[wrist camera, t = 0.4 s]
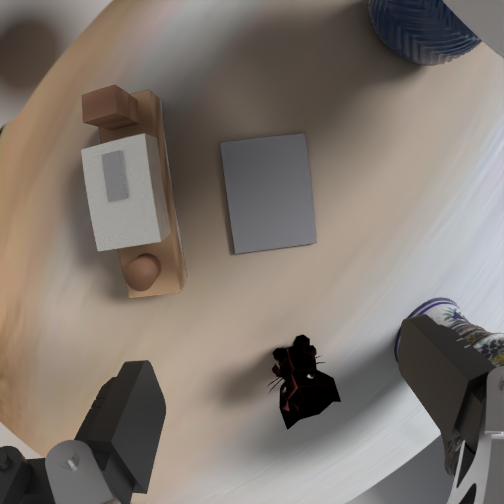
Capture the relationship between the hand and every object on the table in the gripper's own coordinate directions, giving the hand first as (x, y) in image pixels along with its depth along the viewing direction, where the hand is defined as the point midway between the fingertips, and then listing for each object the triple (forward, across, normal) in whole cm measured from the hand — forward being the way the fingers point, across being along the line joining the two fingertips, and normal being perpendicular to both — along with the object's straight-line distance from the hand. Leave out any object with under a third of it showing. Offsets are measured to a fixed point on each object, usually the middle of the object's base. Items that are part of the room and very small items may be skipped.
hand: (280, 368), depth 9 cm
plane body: (+26, +10, -5) cm, 29 cm away
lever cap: (+21, +10, -6) cm, 24 cm away
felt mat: (+26, -2, -3) cm, 26 cm away
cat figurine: (+26, -3, +17) cm, 31 cm away
